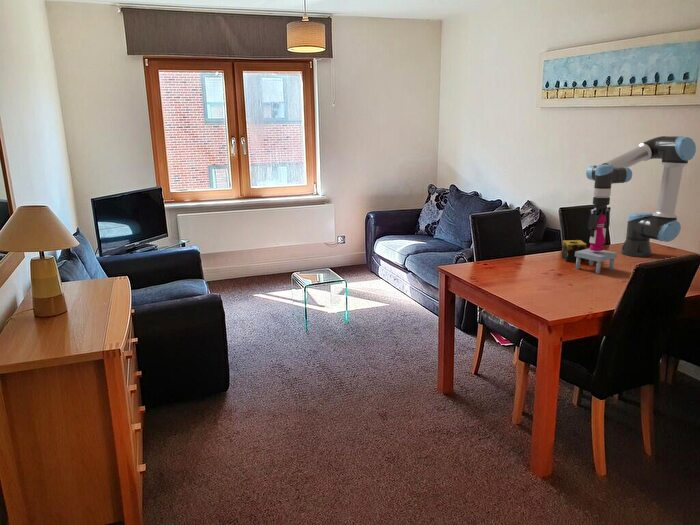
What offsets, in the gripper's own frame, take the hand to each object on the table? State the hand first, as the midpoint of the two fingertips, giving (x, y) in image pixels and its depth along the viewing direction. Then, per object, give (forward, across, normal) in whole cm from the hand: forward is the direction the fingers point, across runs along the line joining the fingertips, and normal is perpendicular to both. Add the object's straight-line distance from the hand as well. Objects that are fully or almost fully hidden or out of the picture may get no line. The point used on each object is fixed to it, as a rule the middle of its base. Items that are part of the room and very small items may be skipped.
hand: (597, 241), depth 260 cm
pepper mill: (+4, 0, 0) cm, 4 cm away
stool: (+14, 0, 0) cm, 14 cm away
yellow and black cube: (+15, -8, -18) cm, 25 cm away
